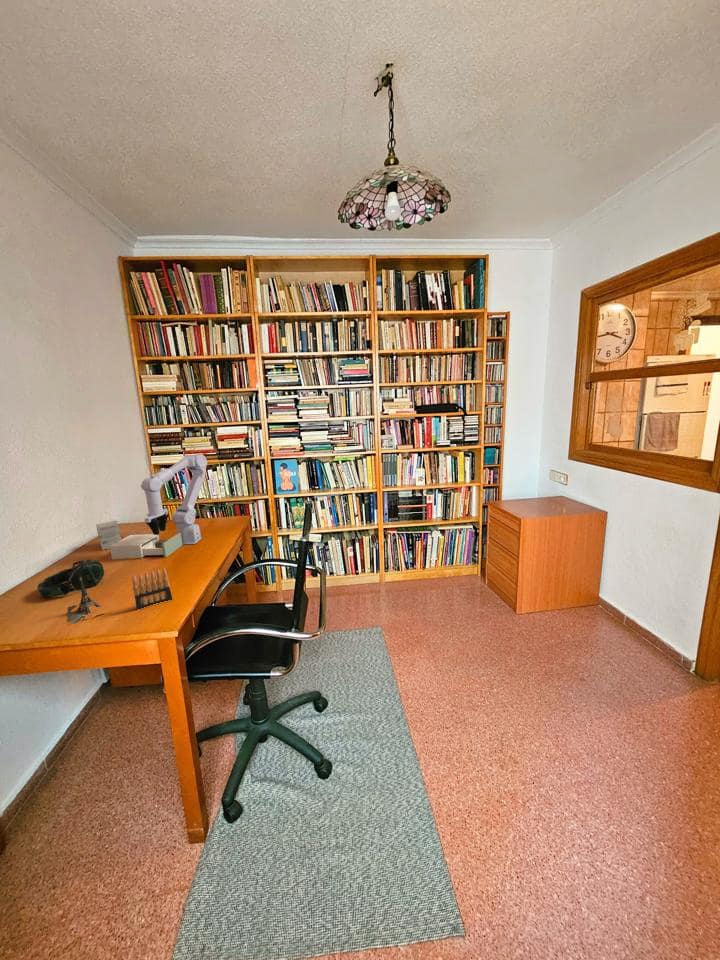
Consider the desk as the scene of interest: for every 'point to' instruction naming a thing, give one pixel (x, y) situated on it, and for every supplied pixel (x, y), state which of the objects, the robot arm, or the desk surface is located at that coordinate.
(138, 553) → the organizer
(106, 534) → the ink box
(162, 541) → the walnut block
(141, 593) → the ammunition clip
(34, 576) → the desk surface
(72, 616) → the eiffel tower figurine
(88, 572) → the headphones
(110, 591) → the desk surface
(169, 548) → the drawer
